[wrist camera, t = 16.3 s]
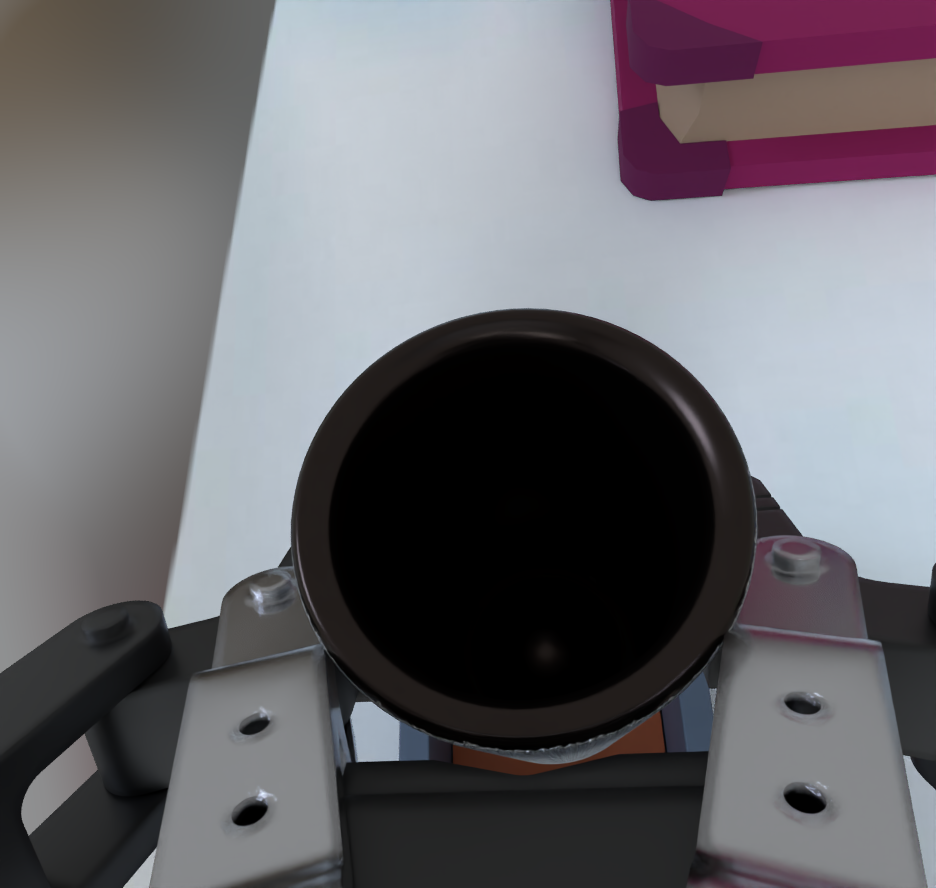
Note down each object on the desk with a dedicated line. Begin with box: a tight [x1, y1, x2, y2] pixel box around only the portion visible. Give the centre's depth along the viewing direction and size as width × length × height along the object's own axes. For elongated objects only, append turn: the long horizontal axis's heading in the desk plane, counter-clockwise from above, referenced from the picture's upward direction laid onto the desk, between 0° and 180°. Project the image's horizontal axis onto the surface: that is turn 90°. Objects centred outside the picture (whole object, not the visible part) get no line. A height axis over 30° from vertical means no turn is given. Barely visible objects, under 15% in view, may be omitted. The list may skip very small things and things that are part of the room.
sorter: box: [399, 672, 713, 775], centre depth 20 cm, size 8×15×5 cm, turn 1°
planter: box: [291, 308, 757, 764], centre depth 11 cm, size 4×4×10 cm
